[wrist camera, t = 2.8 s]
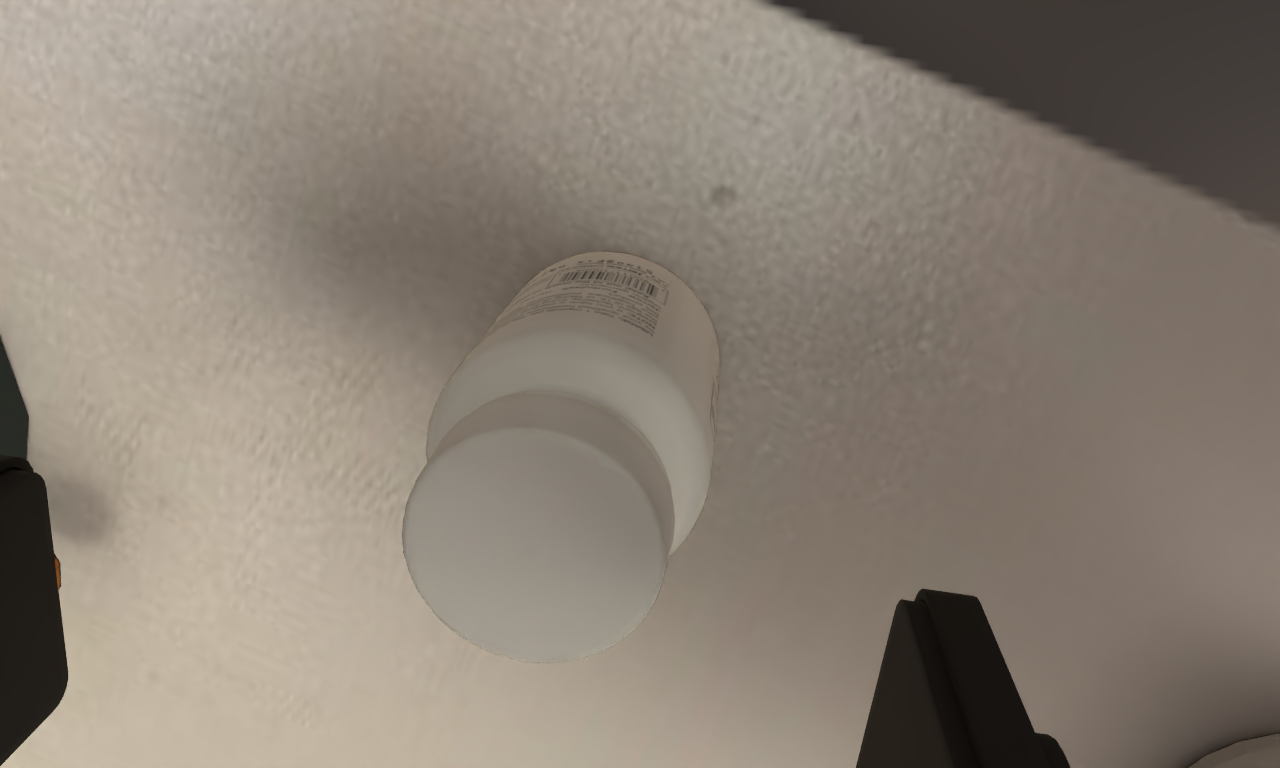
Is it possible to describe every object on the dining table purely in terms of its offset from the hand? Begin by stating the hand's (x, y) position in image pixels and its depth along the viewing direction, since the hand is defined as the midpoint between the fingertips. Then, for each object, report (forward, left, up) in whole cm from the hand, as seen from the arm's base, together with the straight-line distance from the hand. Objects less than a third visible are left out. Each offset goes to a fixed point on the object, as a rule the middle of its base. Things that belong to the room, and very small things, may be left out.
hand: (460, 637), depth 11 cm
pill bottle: (0, 0, -10) cm, 10 cm away
